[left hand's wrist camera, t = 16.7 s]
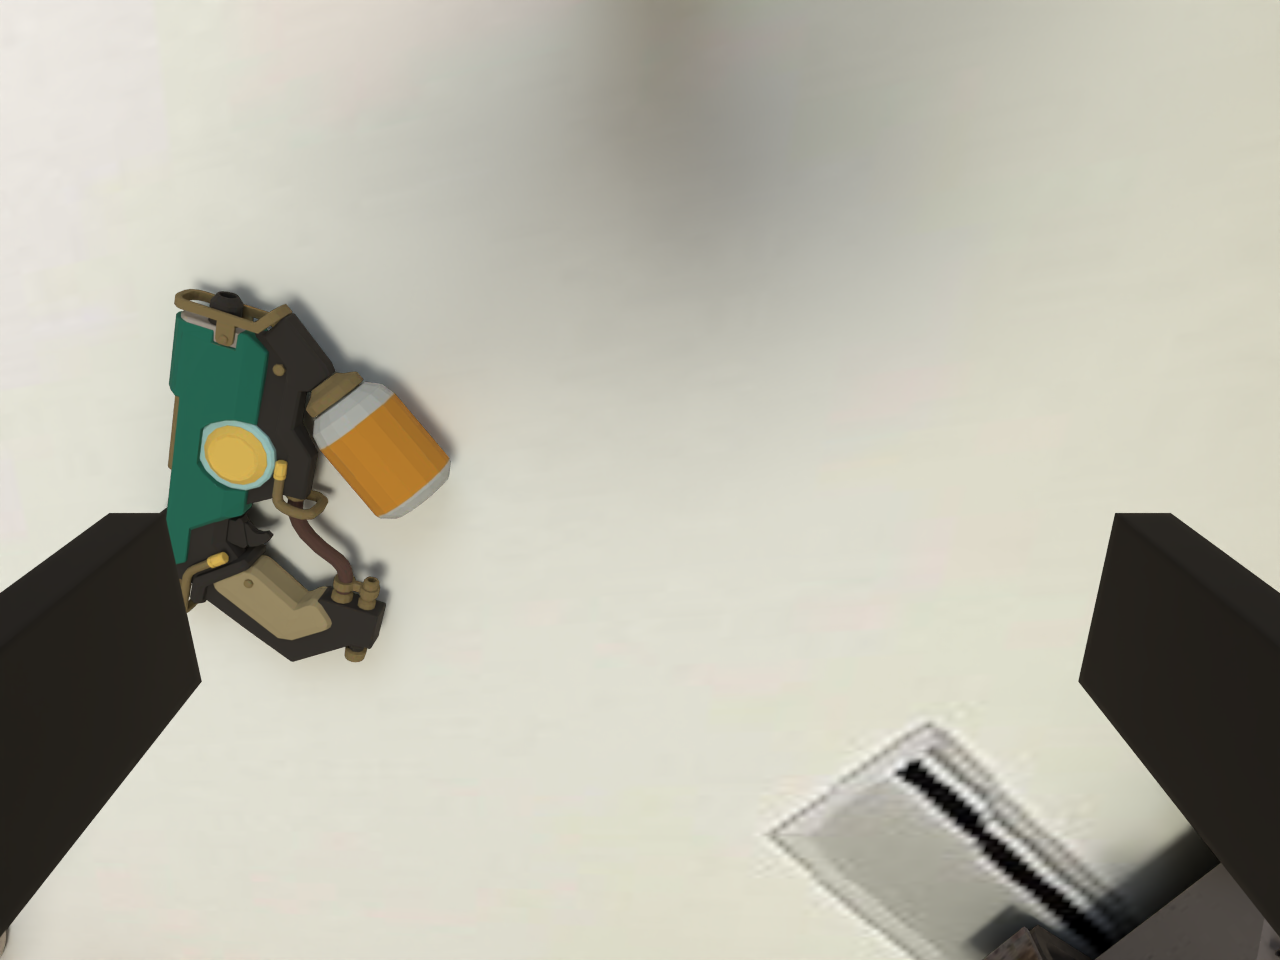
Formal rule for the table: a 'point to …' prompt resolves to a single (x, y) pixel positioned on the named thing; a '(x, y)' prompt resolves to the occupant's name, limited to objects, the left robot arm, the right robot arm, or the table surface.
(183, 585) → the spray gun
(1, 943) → the bust sculpture
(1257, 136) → the table surface
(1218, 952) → the toy
